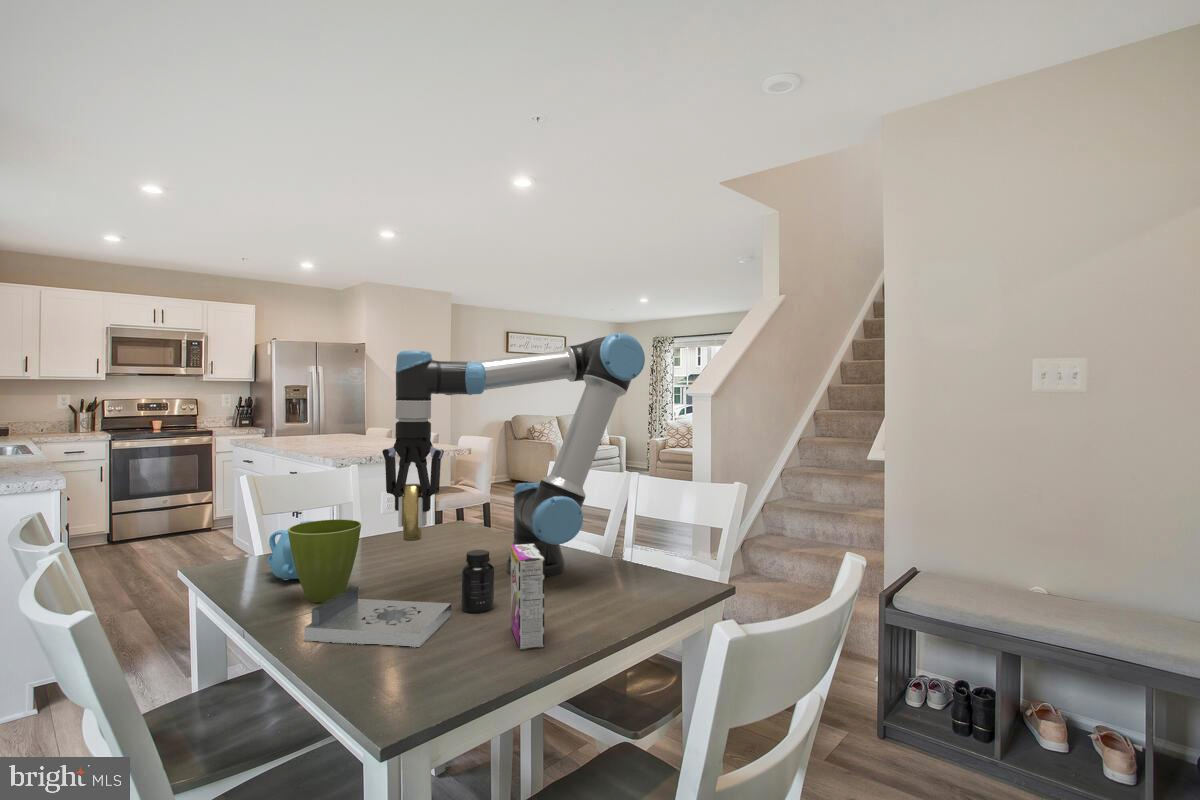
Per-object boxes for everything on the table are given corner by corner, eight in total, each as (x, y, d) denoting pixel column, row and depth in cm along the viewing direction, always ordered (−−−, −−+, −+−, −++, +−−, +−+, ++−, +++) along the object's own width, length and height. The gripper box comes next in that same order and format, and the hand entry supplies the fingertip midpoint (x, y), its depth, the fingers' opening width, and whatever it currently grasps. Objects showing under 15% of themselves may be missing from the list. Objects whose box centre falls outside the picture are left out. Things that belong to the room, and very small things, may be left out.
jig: (451, 615, 122) (451, 588, 122) (419, 647, 106) (419, 617, 106) (350, 610, 124) (350, 584, 124) (304, 641, 108) (304, 611, 108)
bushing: (424, 537, 133) (425, 483, 133) (417, 541, 129) (417, 486, 129) (407, 536, 133) (408, 483, 133) (399, 540, 129) (400, 485, 129)
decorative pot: (348, 578, 147) (349, 523, 147) (275, 589, 137) (276, 531, 138) (333, 563, 160) (334, 513, 160) (265, 573, 151) (266, 519, 151)
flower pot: (324, 612, 123) (325, 536, 123) (271, 603, 128) (271, 530, 128) (374, 591, 137) (375, 522, 137) (325, 583, 142) (325, 517, 142)
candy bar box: (508, 627, 116) (509, 544, 116) (534, 625, 117) (534, 542, 117) (517, 651, 105) (518, 559, 105) (545, 648, 106) (546, 557, 106)
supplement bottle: (458, 605, 128) (459, 549, 128) (489, 601, 131) (490, 547, 131) (464, 615, 122) (464, 557, 122) (497, 611, 125) (497, 554, 125)
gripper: (456, 420, 134) (455, 523, 134) (385, 419, 136) (384, 521, 136) (443, 421, 126) (442, 530, 126) (368, 420, 128) (367, 528, 128)
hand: (412, 525), depth 131 cm, fingers closed on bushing, 4 cm apart
